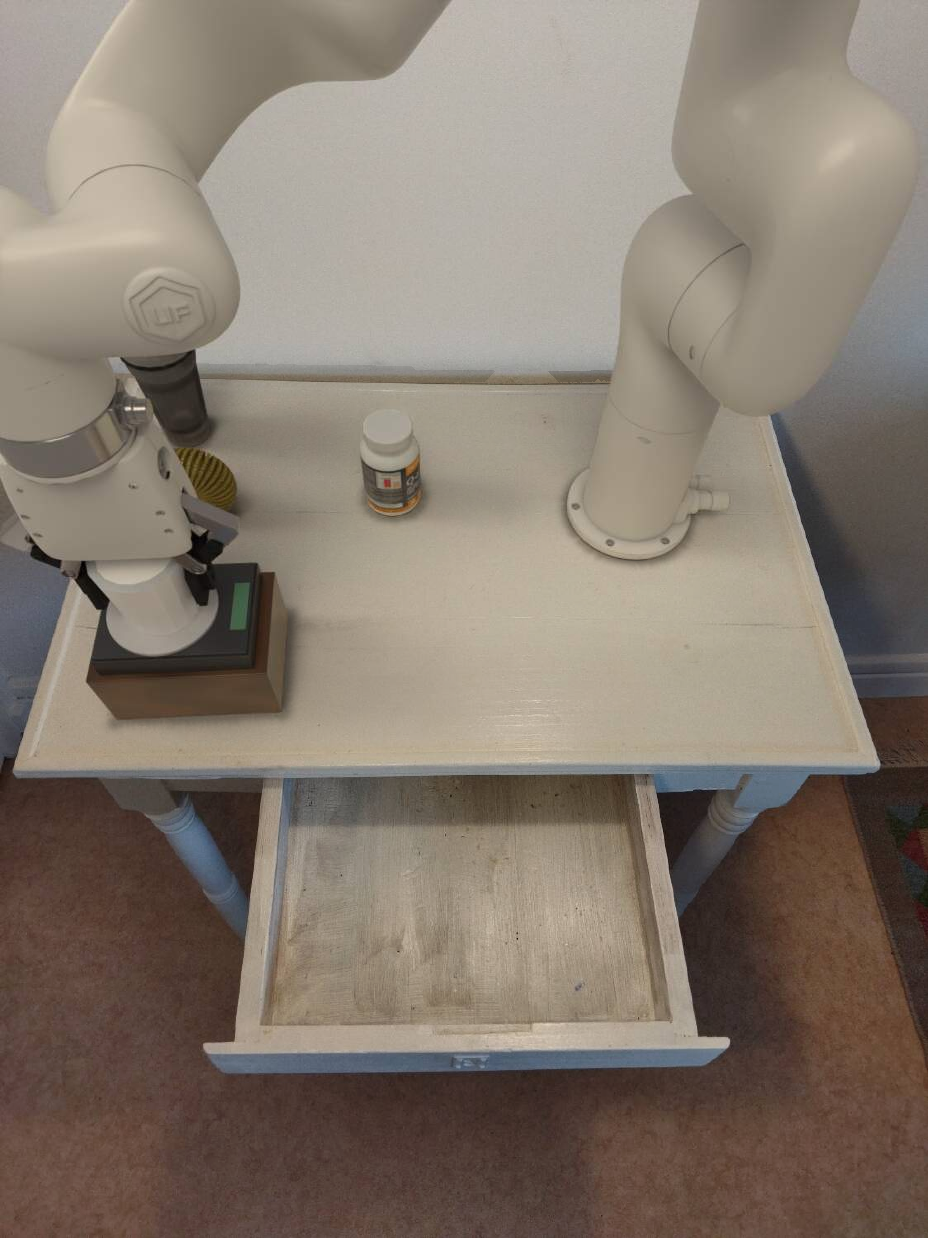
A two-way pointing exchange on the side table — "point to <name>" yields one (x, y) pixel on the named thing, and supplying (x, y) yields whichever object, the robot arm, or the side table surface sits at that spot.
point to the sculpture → (208, 477)
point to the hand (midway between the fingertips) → (155, 591)
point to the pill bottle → (390, 462)
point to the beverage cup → (173, 395)
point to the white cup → (147, 592)
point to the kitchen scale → (189, 632)
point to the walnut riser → (208, 677)
